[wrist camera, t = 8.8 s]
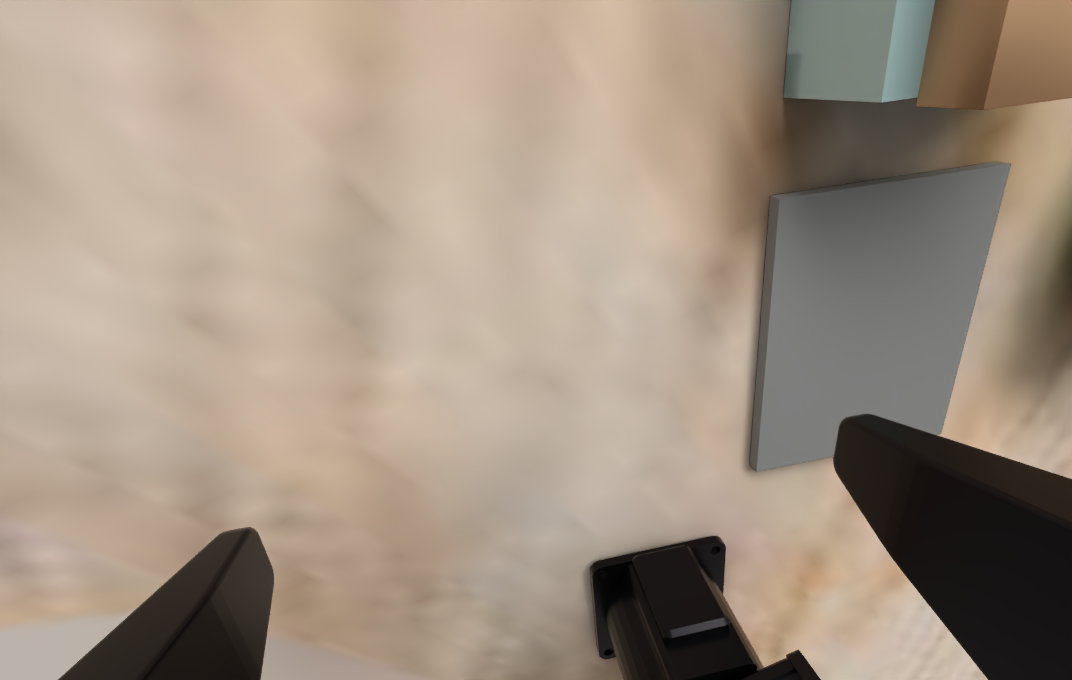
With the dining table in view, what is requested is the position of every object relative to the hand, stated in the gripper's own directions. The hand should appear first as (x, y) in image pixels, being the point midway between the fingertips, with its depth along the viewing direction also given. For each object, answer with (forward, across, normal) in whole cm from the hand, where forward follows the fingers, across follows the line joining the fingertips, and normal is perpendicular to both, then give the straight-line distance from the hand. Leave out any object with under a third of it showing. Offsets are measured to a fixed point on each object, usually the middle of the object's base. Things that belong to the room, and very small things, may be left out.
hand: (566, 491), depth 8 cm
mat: (+12, -15, +5) cm, 20 cm away
